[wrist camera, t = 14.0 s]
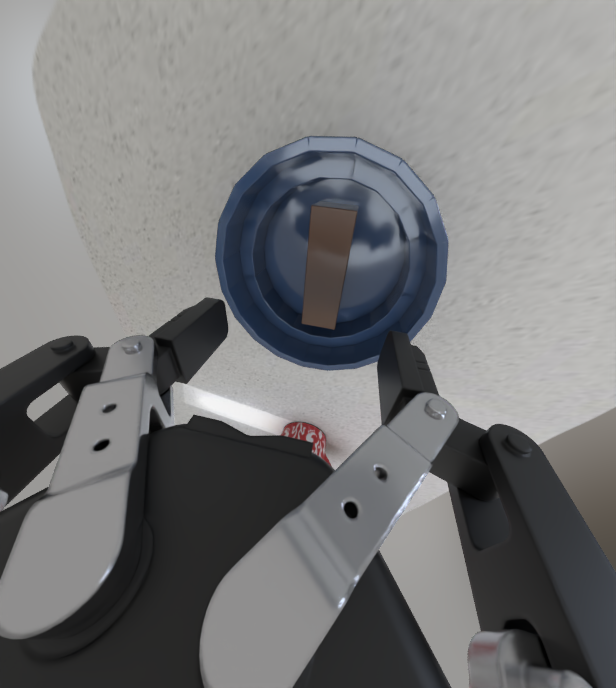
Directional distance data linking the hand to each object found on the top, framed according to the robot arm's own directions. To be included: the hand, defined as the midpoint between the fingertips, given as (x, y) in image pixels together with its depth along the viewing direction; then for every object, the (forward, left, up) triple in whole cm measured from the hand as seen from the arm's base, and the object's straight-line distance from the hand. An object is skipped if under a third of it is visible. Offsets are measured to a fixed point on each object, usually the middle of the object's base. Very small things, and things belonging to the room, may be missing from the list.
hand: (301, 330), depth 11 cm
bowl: (0, 0, -12) cm, 12 cm away
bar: (0, 0, -11) cm, 11 cm away
